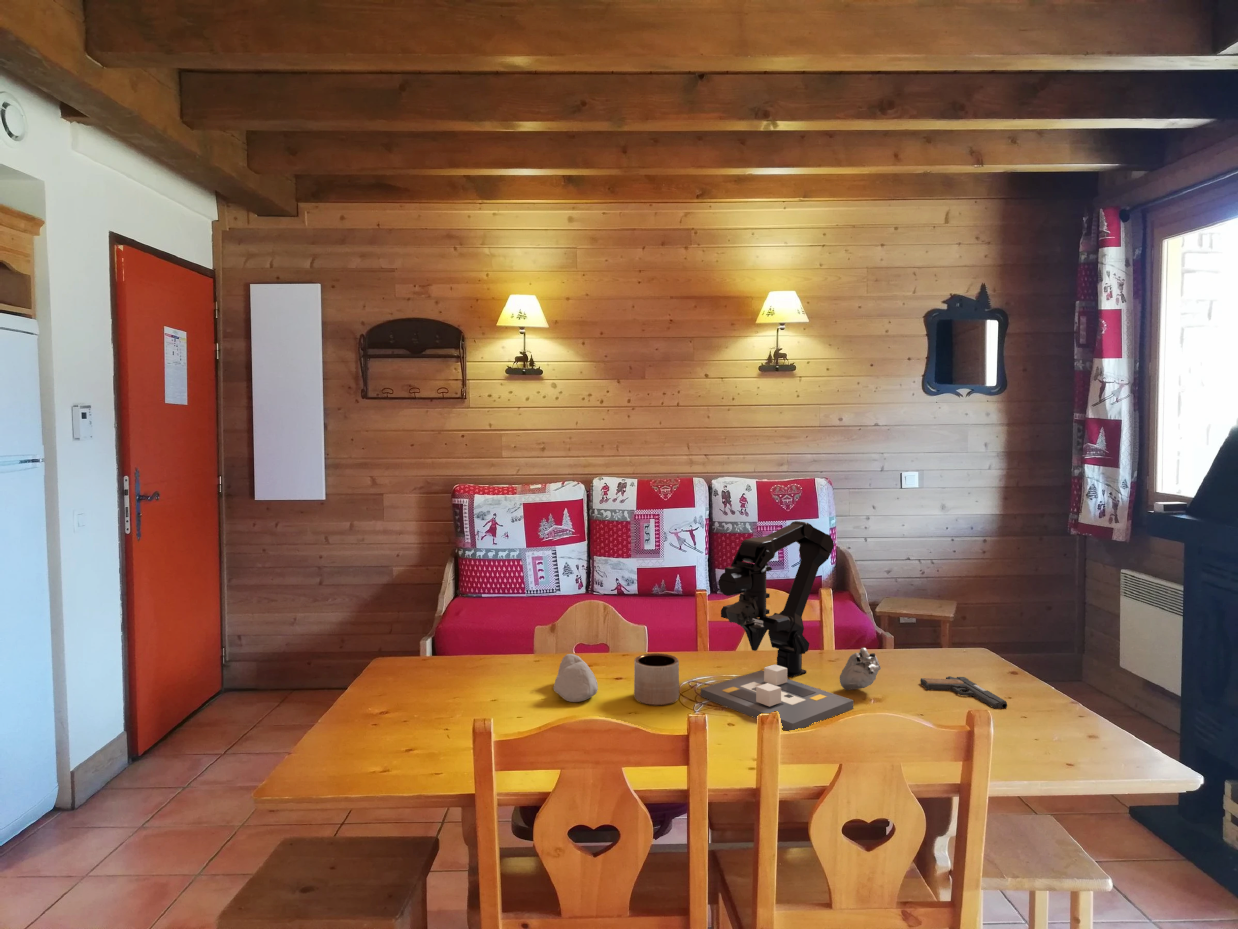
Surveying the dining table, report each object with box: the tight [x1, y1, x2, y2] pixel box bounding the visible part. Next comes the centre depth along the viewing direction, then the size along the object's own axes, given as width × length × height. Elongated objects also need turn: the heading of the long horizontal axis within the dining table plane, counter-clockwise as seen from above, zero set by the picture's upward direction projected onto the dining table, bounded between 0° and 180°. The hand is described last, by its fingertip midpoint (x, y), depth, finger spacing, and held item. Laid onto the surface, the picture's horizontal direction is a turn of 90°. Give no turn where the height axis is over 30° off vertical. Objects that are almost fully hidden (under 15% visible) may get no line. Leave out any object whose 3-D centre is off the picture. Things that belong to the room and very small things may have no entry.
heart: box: [839, 647, 882, 691], centre depth 194 cm, size 10×10×12 cm
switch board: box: [700, 669, 854, 732], centre depth 187 cm, size 22×28×2 cm
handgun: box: [919, 676, 1008, 710], centre depth 191 cm, size 19×2×12 cm
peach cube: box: [763, 663, 788, 686], centre depth 194 cm, size 4×4×4 cm
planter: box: [633, 652, 680, 707], centre depth 189 cm, size 11×11×10 cm
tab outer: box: [756, 683, 781, 707], centre depth 180 cm, size 4×4×4 cm
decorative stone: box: [552, 653, 599, 703], centre depth 194 cm, size 17×10×10 cm
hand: (754, 650), depth 199 cm, fingers closed
